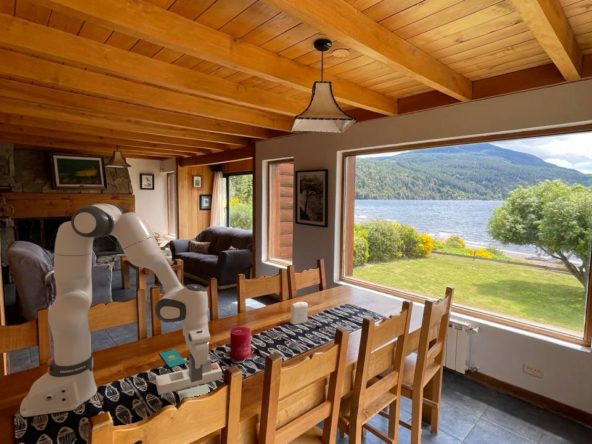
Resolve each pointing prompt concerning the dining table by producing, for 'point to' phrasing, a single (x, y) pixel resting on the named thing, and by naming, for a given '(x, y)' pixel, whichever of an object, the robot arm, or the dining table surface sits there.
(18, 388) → the dining table surface
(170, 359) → the teal passport
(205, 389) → the mat
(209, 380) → the power strip
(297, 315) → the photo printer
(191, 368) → the block
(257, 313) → the dining table surface
